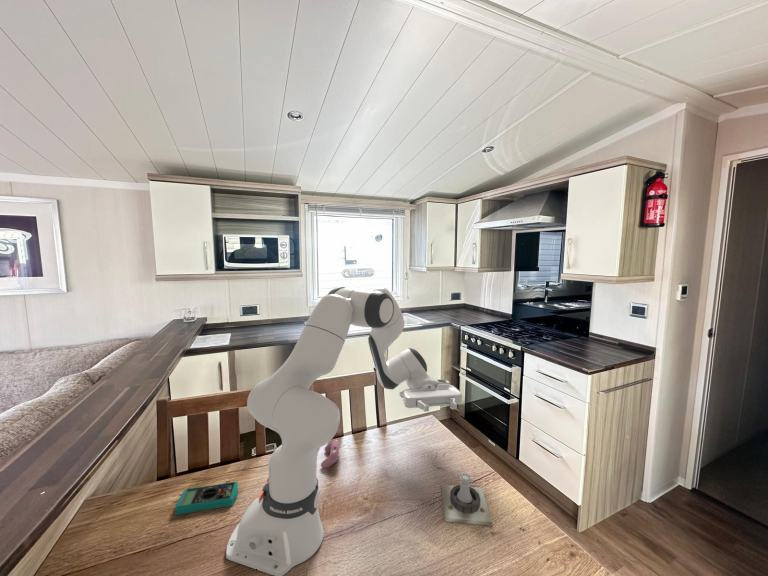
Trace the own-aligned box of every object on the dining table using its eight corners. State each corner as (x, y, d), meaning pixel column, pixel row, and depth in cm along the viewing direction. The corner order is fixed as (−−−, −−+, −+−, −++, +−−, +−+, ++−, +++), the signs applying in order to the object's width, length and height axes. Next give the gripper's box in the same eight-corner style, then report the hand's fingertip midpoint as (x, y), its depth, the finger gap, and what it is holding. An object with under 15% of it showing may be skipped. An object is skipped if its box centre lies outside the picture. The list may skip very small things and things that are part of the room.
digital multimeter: (234, 507, 87) (234, 497, 86) (174, 517, 83) (173, 507, 83) (240, 488, 94) (239, 479, 93) (184, 496, 90) (184, 487, 90)
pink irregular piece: (332, 473, 102) (341, 455, 101) (319, 468, 102) (329, 450, 101) (335, 454, 112) (344, 437, 111) (323, 449, 111) (332, 432, 111)
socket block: (445, 521, 83) (445, 511, 82) (441, 487, 95) (441, 478, 94) (491, 525, 82) (492, 515, 81) (481, 490, 94) (482, 481, 93)
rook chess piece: (453, 502, 88) (454, 476, 87) (461, 493, 91) (462, 468, 90) (467, 511, 85) (469, 484, 84) (475, 501, 88) (476, 475, 87)
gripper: (398, 383, 110) (410, 400, 96) (452, 380, 114) (470, 396, 101) (397, 400, 110) (409, 420, 97) (451, 396, 115) (469, 415, 101)
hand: (440, 408), depth 99 cm, fingers open, 8 cm apart
